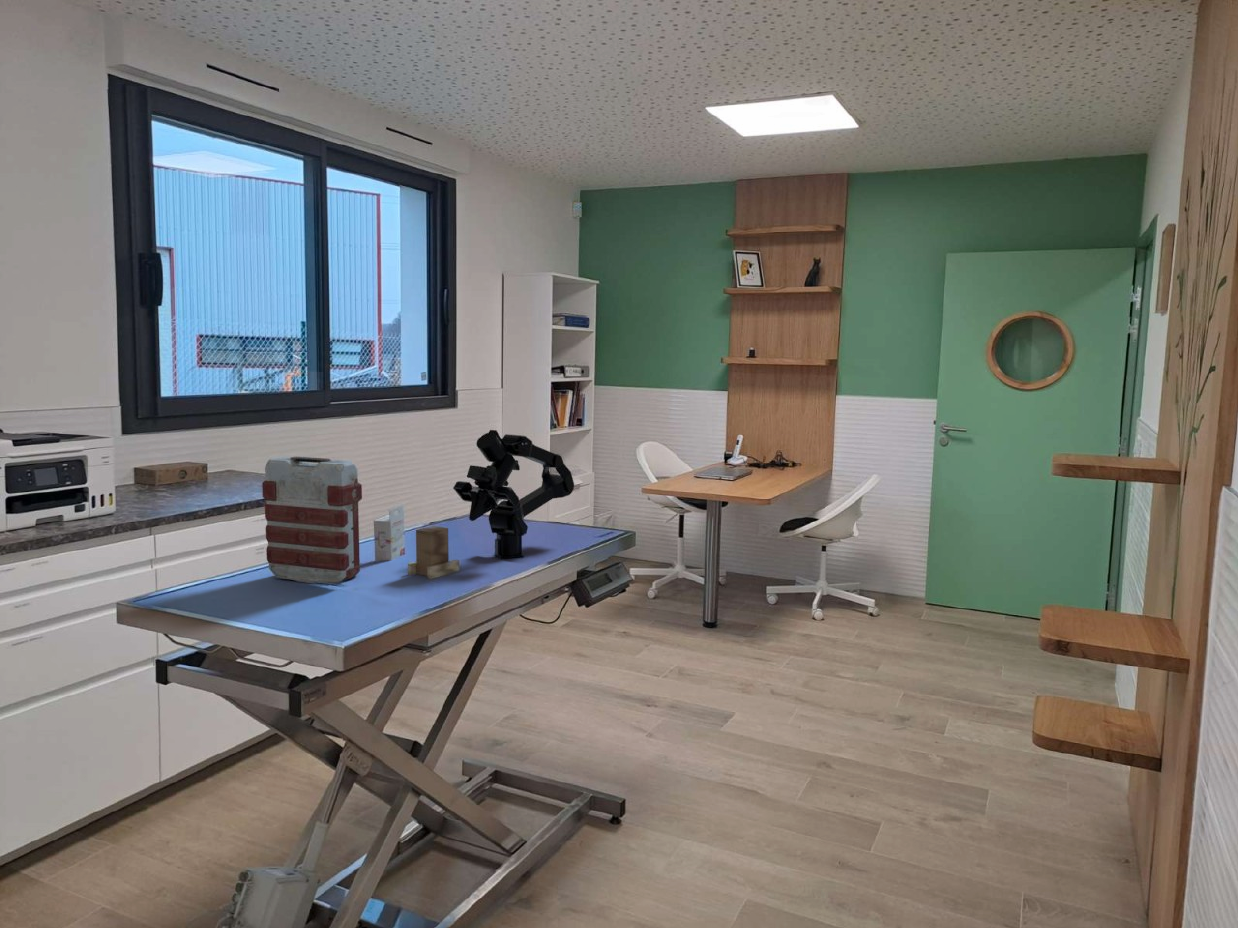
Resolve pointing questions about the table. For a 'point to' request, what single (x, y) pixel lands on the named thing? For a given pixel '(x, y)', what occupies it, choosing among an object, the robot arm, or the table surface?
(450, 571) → the chute
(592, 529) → the table surface
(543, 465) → the robot arm
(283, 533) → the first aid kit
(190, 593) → the table surface
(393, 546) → the ink cartridge box
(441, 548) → the block
